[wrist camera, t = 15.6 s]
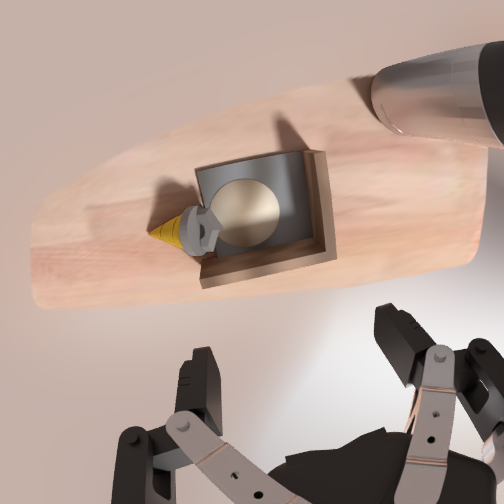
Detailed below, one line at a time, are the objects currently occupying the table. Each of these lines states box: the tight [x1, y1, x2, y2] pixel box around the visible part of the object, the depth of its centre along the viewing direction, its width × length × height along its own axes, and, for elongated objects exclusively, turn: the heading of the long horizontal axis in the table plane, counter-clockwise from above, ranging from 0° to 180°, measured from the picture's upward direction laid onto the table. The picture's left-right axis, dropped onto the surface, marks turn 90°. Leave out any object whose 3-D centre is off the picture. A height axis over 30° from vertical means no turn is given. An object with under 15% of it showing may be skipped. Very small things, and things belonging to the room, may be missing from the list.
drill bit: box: [148, 205, 224, 256], centre depth 31 cm, size 5×5×10 cm
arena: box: [197, 149, 337, 289], centre depth 31 cm, size 15×12×5 cm
